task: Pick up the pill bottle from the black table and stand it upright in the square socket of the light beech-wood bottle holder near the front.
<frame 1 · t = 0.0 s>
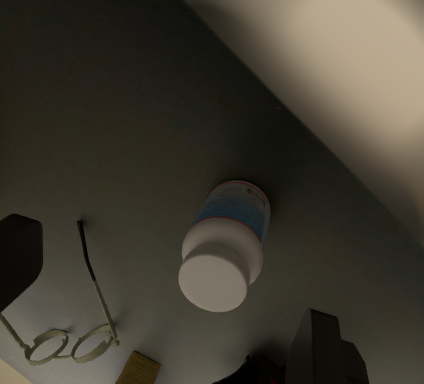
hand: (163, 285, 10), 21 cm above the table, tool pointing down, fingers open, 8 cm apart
pill bottle: (238, 207, 33), on the table
crumpled patterned cloth: (265, 374, 41), on the table
eyeglasses: (56, 283, 42), on the table
candy box: (138, 375, 46), on the table
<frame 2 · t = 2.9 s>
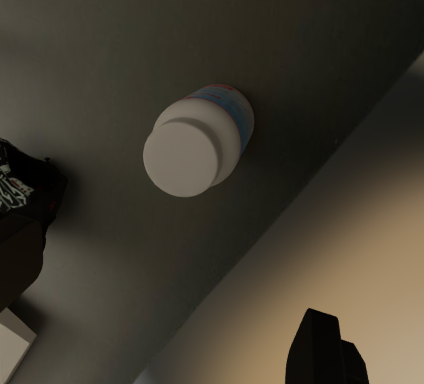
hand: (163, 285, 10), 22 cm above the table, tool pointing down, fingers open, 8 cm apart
pill bottle: (220, 119, 30), on the table
crumpled patterned cloth: (35, 178, 38), on the table
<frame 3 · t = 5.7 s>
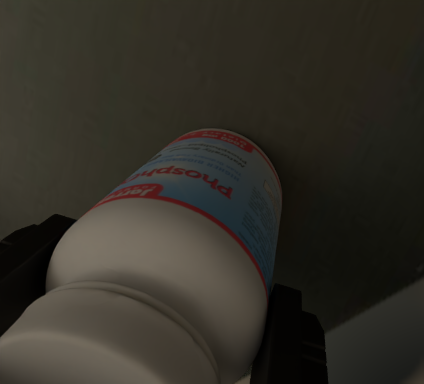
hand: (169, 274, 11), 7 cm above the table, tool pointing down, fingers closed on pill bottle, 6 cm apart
pill bottle: (217, 188, 17), on the table, touching gripper
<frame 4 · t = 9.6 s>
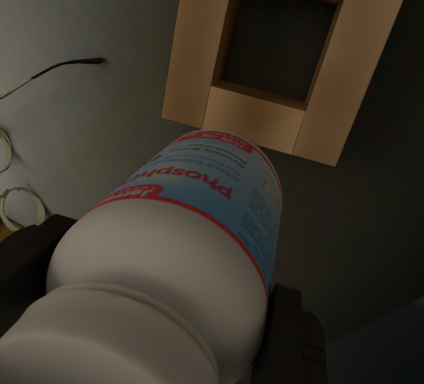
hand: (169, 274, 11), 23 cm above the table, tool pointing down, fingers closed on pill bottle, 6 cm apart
holder: (275, 45, 28), on the table
pill bottle: (217, 188, 17), point 16 cm above the table, touching gripper
eyeglasses: (76, 157, 37), on the table
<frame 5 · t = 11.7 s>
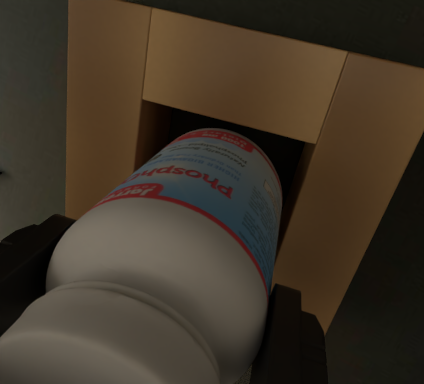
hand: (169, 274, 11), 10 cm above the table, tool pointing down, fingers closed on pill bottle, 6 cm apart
holder: (227, 166, 19), on the table
pill bottle: (217, 187, 17), point 3 cm above the table, touching gripper
when the fingers open (7 cm above the table, at t = 13.3 s): pill bottle stays where it is, resting in holder.
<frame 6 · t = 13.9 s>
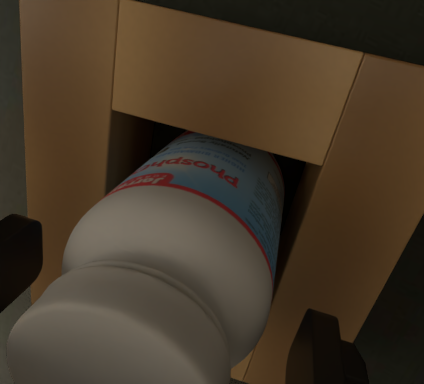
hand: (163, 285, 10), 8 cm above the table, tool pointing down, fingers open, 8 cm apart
holder: (218, 183, 17), on the table
pill bottle: (221, 181, 17), resting in holder
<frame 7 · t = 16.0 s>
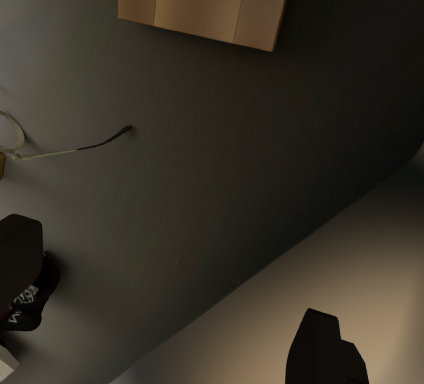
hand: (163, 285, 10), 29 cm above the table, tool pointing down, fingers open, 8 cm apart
crumpled patterned cloth: (35, 259, 52), on the table
eyeglasses: (49, 79, 40), on the table
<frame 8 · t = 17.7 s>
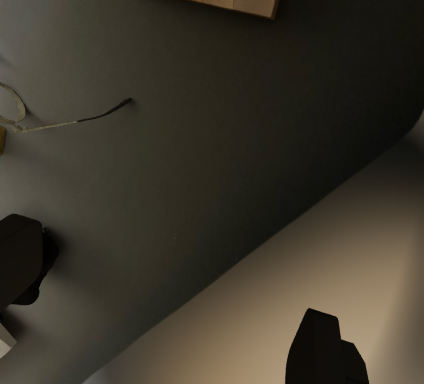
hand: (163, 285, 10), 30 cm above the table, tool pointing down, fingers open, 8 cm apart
crumpled patterned cloth: (34, 236, 52), on the table
eyeglasses: (51, 51, 40), on the table
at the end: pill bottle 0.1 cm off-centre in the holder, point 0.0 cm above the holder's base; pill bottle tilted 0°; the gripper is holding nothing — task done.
